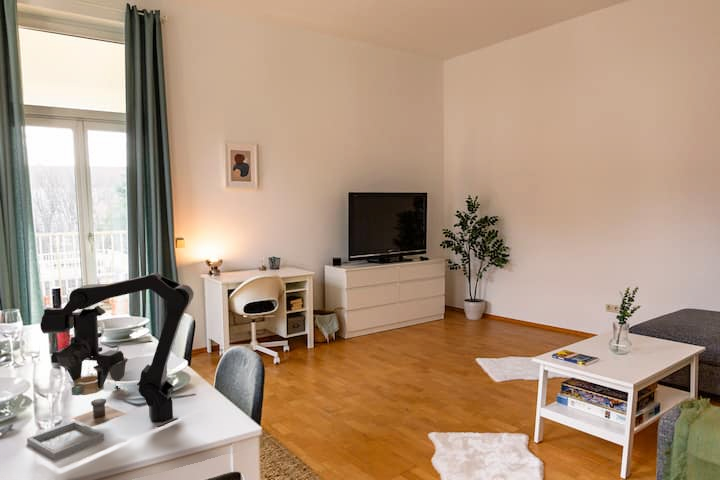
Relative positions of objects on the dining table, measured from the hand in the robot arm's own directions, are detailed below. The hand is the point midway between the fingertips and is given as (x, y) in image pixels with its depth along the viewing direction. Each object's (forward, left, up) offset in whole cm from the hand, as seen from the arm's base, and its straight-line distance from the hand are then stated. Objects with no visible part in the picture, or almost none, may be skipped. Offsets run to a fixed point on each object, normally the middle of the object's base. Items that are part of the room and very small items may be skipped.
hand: (89, 387), depth 138 cm
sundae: (+18, -18, -11) cm, 28 cm away
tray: (-6, +10, -11) cm, 16 cm away
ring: (0, 0, -1) cm, 1 cm away
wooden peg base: (+2, -3, -11) cm, 12 cm away
